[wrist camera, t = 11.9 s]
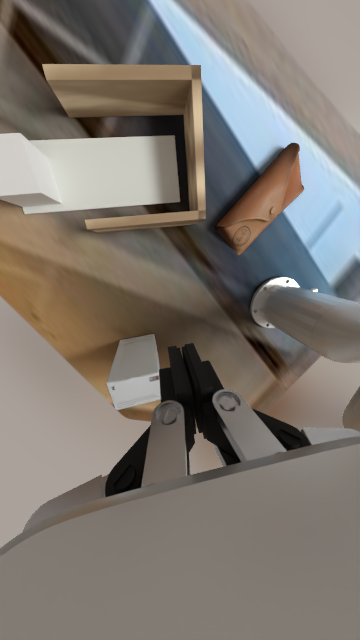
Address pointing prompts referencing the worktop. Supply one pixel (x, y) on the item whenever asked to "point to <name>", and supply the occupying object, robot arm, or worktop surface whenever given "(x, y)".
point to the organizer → (139, 100)
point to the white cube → (25, 173)
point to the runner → (111, 172)
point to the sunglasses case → (263, 200)
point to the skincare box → (135, 372)
